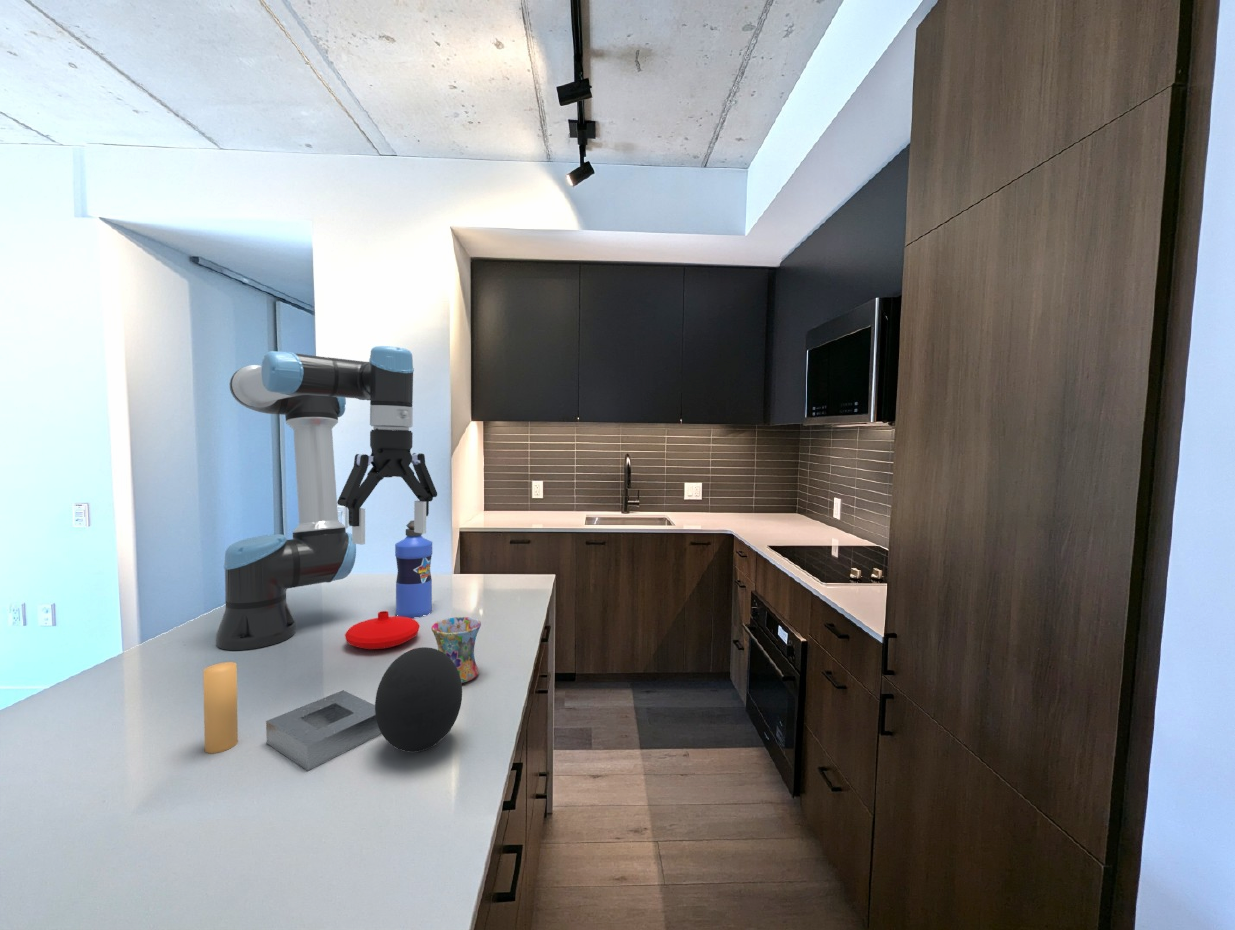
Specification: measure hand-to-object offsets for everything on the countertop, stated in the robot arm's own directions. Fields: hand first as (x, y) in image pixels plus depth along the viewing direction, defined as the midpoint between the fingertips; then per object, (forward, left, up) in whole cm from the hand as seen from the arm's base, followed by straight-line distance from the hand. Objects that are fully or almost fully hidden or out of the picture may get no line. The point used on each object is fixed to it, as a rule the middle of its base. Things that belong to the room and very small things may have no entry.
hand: (391, 537), depth 102 cm
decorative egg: (+25, -12, -28) cm, 39 cm away
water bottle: (-29, +27, -28) cm, 48 cm away
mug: (+10, +8, -28) cm, 30 cm away
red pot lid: (-17, +10, -28) cm, 34 cm away
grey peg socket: (+11, -18, -28) cm, 35 cm away
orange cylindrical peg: (0, -28, -28) cm, 40 cm away
